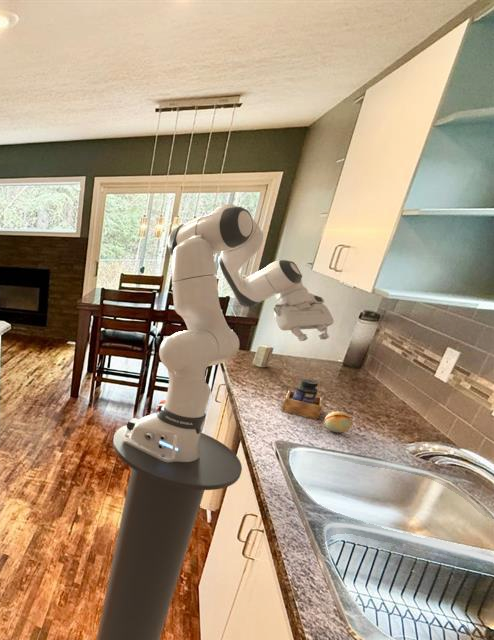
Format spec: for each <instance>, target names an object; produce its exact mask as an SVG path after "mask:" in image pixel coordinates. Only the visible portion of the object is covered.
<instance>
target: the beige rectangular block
mask: <svg viewBox="0 0 494 640" xmlns="http://www.w3.org/2000/svg"><path fill="white" fill-rule="evenodd" d="M274 348H275V347H274V346H271V345H267V344H258V345H257V348H256V351H255V354H254V359H253V361H252V365H253V366H257V367H259V368H268V367H269V364H270V361H271V359H272V355H273V352H274Z"/></svg>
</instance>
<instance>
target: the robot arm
mask: <svg viewBox="0 0 494 640" xmlns="http://www.w3.org/2000/svg"><path fill="white" fill-rule="evenodd" d="M263 241H264V233H263V231H262V229H261V227H260V226H259V224H258V223H257V221H255V219H254V218H252V215H251V213H250V211H249V210H248V209H246V208H244V207H241V206H237V205H234V204H222V205H221V206H219V207H217V208H216V209H214V210H213V211H212V212H211V213H209V214H207V215H201V216H199V217H197V218H195V219H193V220H190V221H188V222H186V223H183V224H180V225H178V226H177V227H175V228H174V229H173V230H172V231H171V232H170V234H169V235H168V238H167V249H168V252H169V254H170V256H171V271H170V272H171V287H172V299H173V301H172V302H173V309H174V312H175V313H176V314H177V315H179V316H180V317H181V318H182V319H183V321H184V323H185V326H186V328H187V330H183V331H178V332H175V333H173V334H171V335H169V336H167V337H165V338H164V339H163V340H162V342H161V344H160V345H159V350H158V356H159V359H160V361H161V363H162V364H163V366H164V367H165V368H166V369H167V372H168V373H167V374H168V388H167V392H166V397H165V399H162V400H161V401H159V402H158V405H157V406H156V408H155V412H154V413H150V414H148V415H145V416H142V417H141V418H136V417H133V418H131V419H130V420H128V421H127V423H126V425H127V428H128V430H127V431H126V433H125V434H124V437H123V441H124V442H125V443H126V444H129V445H131V446H133V447H135V448H137V449H139V450H141V451H143V452H145V453H147V454H149V455H151V456H153V457H155V458H157V459H160V460H162V461H164V462H168V463H169V462H192V461H195V460H197V459H198V458H199V456H200V455H199V439H200V432H201V433H202V431H203V429H204V427H205V422H206V417H207V413H206V410H207V407H208V404H209V399H210V396H211V391H212V390H211V388H210V385H209V384H208V383H207V382H206V371H207V368H208V367H211V366H212V367H213V366H217V365H221V364H223V363H225V362H227V361H229V360H230V359H233V358H234V357H235V356H236V355H237V354H238V352H239V351H240V339H239V337H238V335H237V334H236V333H235V331H234V330H233V329H231V328H230V326H229V325H228V323H227V321H226V318H225V316H224V313H223V311H222V307H221V303H220V297H219V288H218V277H217V275H218V274H217V267H216V261H215V257H214V255H216V254H219V253H220V255H219V256H218V258H217V263H218V265H219V268H220V271H221V273H222V274H223V277H224V278H225V280H226V282H227V284H228V285H229V287H230V289H231V291H232V292H233V296H234V299H235V300H236V302H237V303H238V304H239V305H240V306H242V307H246V308H253V307H255V306H257V305H258V304H261V303H262V302H264V301H265V300H268V299H270V298H272V297H273V296H274V297H275V301H276V304H275V305H274V307H273V312H274V317H275V318H274V319H275V321H276V323H277V326H278V328H279V329H280V330H281V331H290V332H291V333H292V335H294V336H296V338H297V339H298V341H299V342H303V341H304V342H305V341H306V340H308V336H307V334H306V333H304V332H303V331H302V330H317V332H319V335H318V337H319V339H320V340H327V339H329V338H330V335H329V333H328V327H330V326H332V325H333V324H334V318H333V316H332V315H333V314H332V313H331V311H330V310H329V308H328V306H326V304H324V303H325V299H324V298H323V297H322V296H318V295H316V294H313V293H311V292H309V290H308V288H307V287H306V286H304V284H303V280H302V278H303V274H302V273H301V271H300V268H299V267H298V265H297V264H296V263H295V262H294V261H292V260H287V259H278V260H275V261H272V262H271V263H269V264H267V265H266V267H264V268H262V269H261V270H258V271H256V272H255V273H253V274H251V275H249V276H247V277H244V278H243V277H242V276H241V273H240V270H241V269H242V267H243V266H244V265H245V264H246V263H248V262H249V261H250V260H251V259H252V258H254V256H256V255H257V253H258V252H259V250H260V248H261V247H262V244H263Z"/></svg>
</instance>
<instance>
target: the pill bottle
mask: <svg viewBox="0 0 494 640" xmlns="http://www.w3.org/2000/svg"><path fill="white" fill-rule="evenodd" d="M318 385H319V383H318V381H316V380H313V379H308V378H307V379H306V378H303V379H301V381H300V384H299V385H297V386H296V388H295V390H294V391H295V393H294V396H293V398H292V399H294V400H298V401H302V402H306V403H310V404H313V402H314V399H315V397H316V396H317V394H318V389H317V387H318Z"/></svg>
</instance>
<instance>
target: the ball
mask: <svg viewBox="0 0 494 640" xmlns="http://www.w3.org/2000/svg"><path fill="white" fill-rule="evenodd" d="M323 424H324V426H325V427H326V428H327V430H329V431H331V432H333V433H346V432H347V431H349V430H350V429H351V428H352V426H353V419H352V417H351V416H350V415H349V414H347V413H346V412H343V411H332V412H329V413H328V414H327V415H326V416H325V417H324V419H323Z"/></svg>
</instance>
